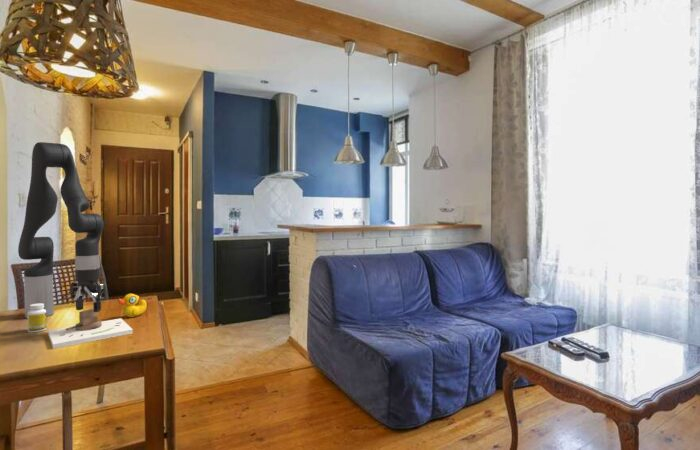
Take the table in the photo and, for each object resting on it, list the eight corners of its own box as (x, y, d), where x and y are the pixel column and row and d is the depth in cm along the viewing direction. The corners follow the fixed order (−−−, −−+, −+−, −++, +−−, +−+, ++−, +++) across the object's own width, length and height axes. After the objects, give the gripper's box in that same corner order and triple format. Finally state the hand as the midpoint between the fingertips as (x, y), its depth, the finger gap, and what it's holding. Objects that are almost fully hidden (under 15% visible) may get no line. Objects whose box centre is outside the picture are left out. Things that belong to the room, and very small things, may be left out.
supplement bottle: (48, 330, 139) (48, 304, 138) (30, 333, 134) (29, 307, 134) (43, 327, 142) (43, 301, 142) (25, 330, 137) (25, 304, 137)
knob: (90, 322, 143) (90, 306, 143) (106, 324, 141) (106, 308, 141) (58, 332, 132) (58, 315, 132) (75, 334, 130) (75, 317, 129)
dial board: (47, 334, 134) (47, 329, 134) (121, 321, 150) (121, 317, 150) (53, 348, 121) (53, 343, 121) (132, 333, 137) (132, 328, 137)
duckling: (122, 321, 151) (121, 297, 150) (115, 319, 154) (114, 295, 153) (149, 314, 161) (149, 291, 160) (142, 312, 163) (142, 290, 163)
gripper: (63, 267, 136) (64, 311, 136) (92, 269, 132) (93, 315, 132) (83, 265, 143) (83, 306, 143) (111, 266, 139) (112, 309, 139)
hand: (88, 310), depth 138 cm, fingers open, 8 cm apart
